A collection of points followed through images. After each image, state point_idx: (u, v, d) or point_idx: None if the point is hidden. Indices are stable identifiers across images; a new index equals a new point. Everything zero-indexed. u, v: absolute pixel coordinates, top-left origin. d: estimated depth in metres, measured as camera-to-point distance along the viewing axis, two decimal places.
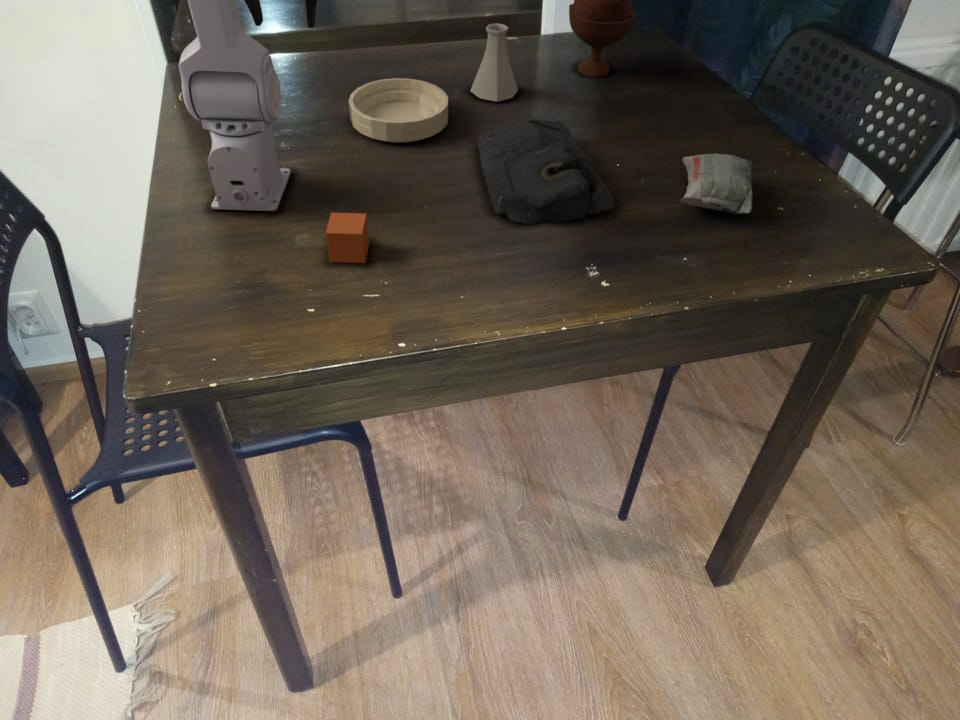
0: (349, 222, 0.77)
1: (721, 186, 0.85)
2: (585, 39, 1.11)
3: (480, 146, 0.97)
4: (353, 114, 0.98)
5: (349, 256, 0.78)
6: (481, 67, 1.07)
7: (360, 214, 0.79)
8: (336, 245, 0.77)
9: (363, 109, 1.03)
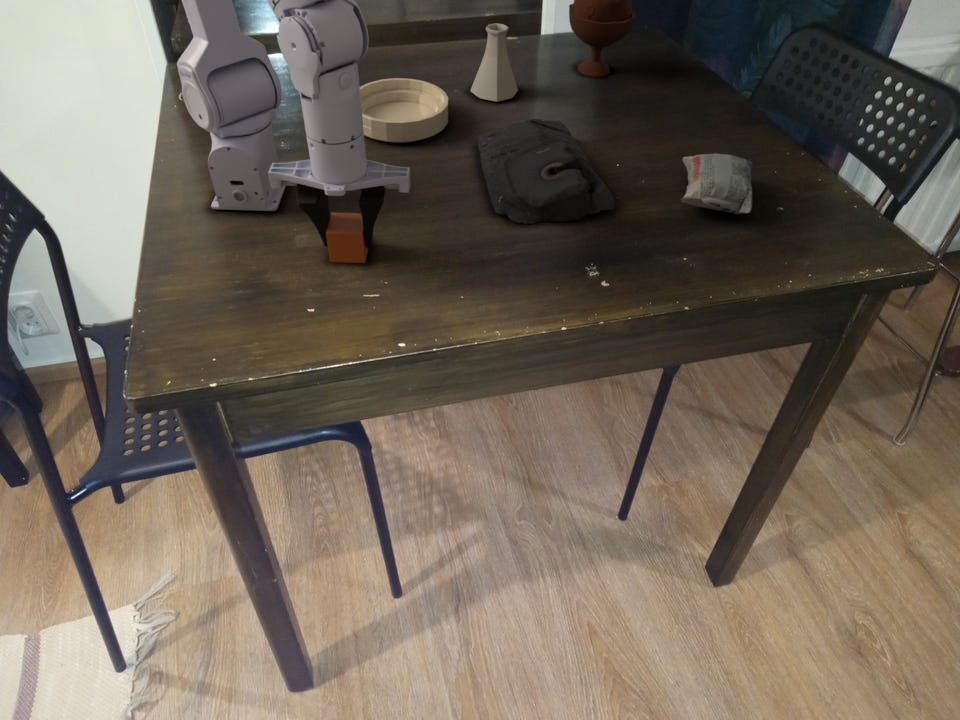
0: (349, 222, 0.77)
1: (721, 186, 0.85)
2: (585, 39, 1.11)
3: (480, 146, 0.97)
4: None
5: (349, 256, 0.78)
6: (481, 67, 1.07)
7: (360, 214, 0.79)
8: (336, 245, 0.77)
9: (363, 109, 1.03)
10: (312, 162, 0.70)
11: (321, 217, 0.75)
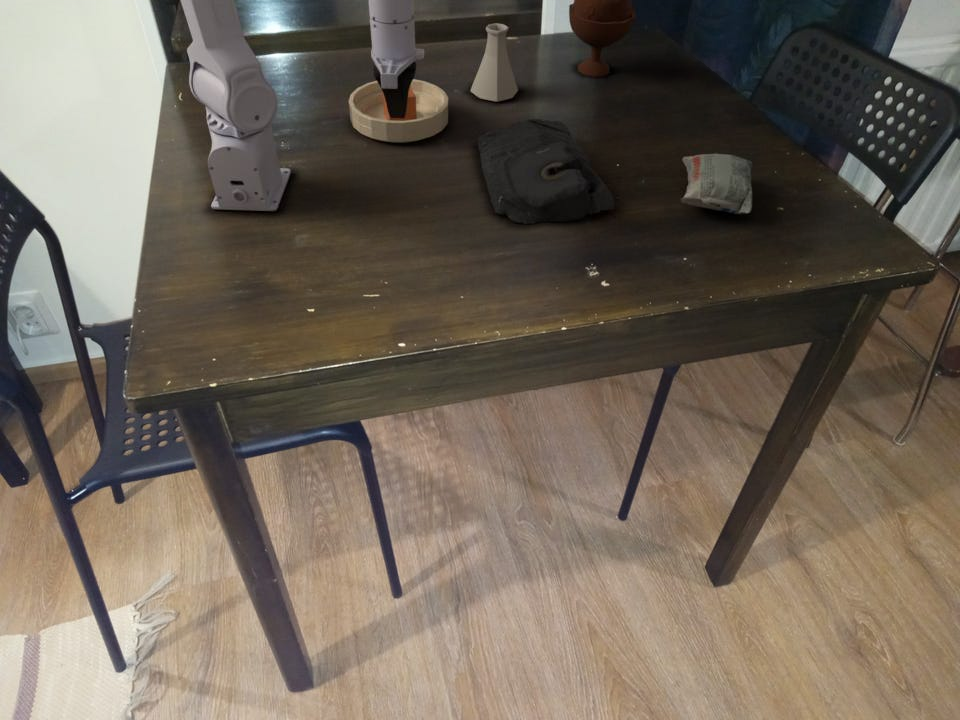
0: None
1: (721, 186, 0.85)
2: (585, 39, 1.11)
3: (480, 146, 0.97)
4: (353, 114, 0.98)
5: (405, 118, 1.01)
6: (481, 67, 1.07)
7: None
8: None
9: (363, 109, 1.03)
10: (404, 44, 0.90)
11: None
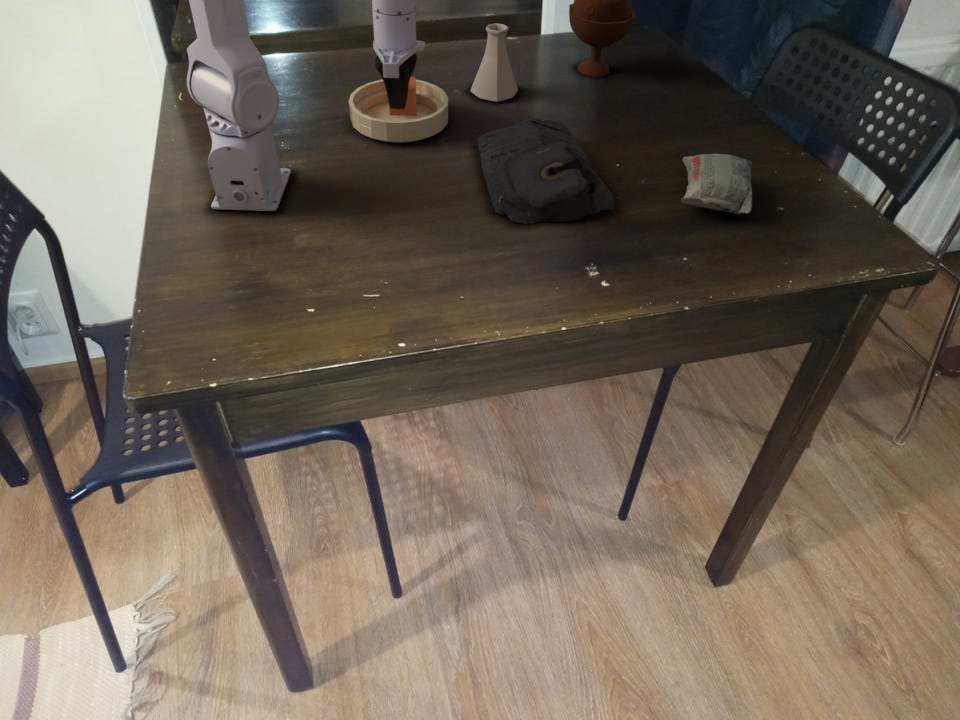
0: None
1: (721, 186, 0.85)
2: (585, 39, 1.11)
3: (480, 146, 0.97)
4: (353, 114, 0.98)
5: (405, 109, 1.03)
6: (481, 67, 1.07)
7: (411, 77, 1.03)
8: None
9: (363, 109, 1.03)
10: (405, 36, 0.92)
11: None
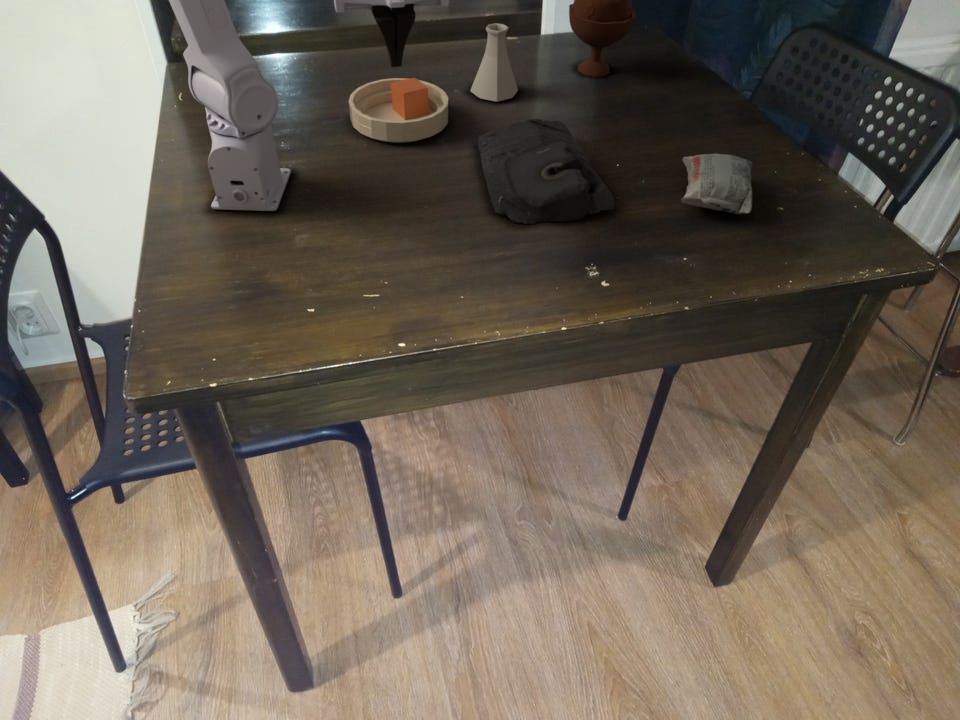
0: (411, 84, 1.01)
1: (721, 186, 0.85)
2: (585, 39, 1.11)
3: (480, 146, 0.97)
4: (353, 114, 0.98)
5: (418, 110, 1.02)
6: (481, 67, 1.07)
7: (411, 78, 1.03)
8: (410, 103, 1.01)
9: (363, 109, 1.03)
10: None
11: (393, 35, 0.90)
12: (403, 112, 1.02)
